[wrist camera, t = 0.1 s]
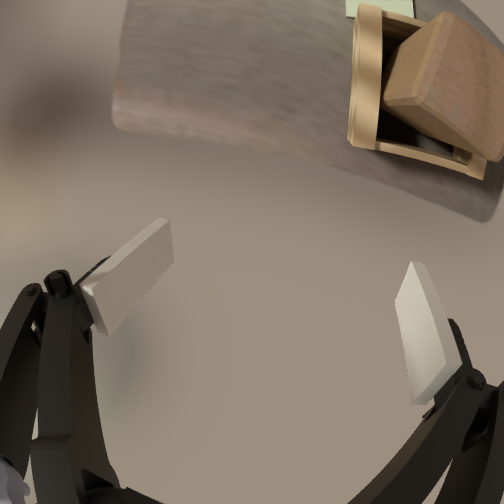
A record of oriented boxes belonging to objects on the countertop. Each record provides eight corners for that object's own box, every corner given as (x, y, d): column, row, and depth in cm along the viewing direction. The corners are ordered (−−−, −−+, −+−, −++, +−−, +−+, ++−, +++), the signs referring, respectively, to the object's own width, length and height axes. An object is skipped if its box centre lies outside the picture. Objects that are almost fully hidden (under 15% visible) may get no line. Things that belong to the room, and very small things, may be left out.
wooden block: (450, 84, 25) (532, 80, 8) (427, 138, 31) (501, 170, 14) (392, 47, 26) (445, 3, 9) (369, 103, 31) (411, 97, 14)
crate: (353, 23, 25) (359, 2, 18) (465, 57, 22) (493, 50, 14) (346, 138, 34) (352, 146, 27) (456, 164, 31) (482, 180, 24)
